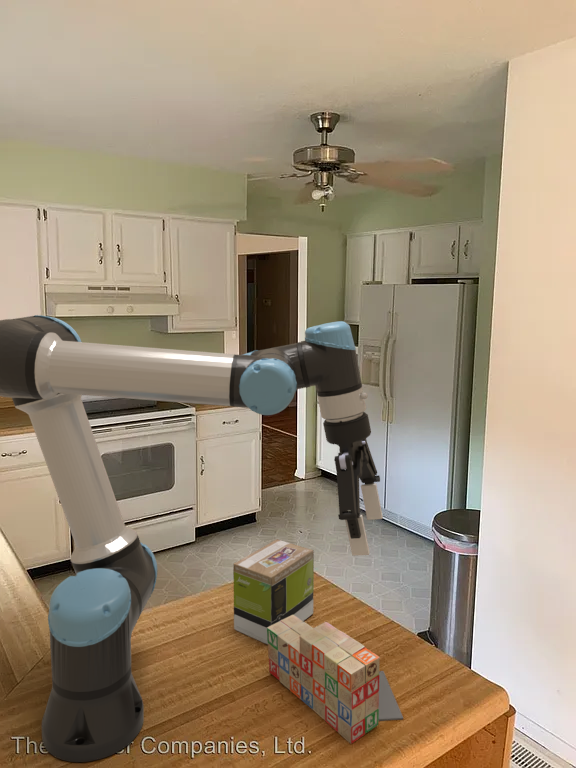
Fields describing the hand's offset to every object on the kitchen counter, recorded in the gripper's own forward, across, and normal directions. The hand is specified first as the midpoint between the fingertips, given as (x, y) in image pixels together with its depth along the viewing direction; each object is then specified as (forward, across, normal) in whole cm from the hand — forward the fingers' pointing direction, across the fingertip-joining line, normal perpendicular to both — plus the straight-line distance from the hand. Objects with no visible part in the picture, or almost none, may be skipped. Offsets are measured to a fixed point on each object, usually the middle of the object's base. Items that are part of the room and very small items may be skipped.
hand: (368, 535), depth 102 cm
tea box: (+23, +10, +26) cm, 36 cm away
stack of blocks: (+25, -9, +11) cm, 29 cm away
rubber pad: (+27, -5, +3) cm, 27 cm away
